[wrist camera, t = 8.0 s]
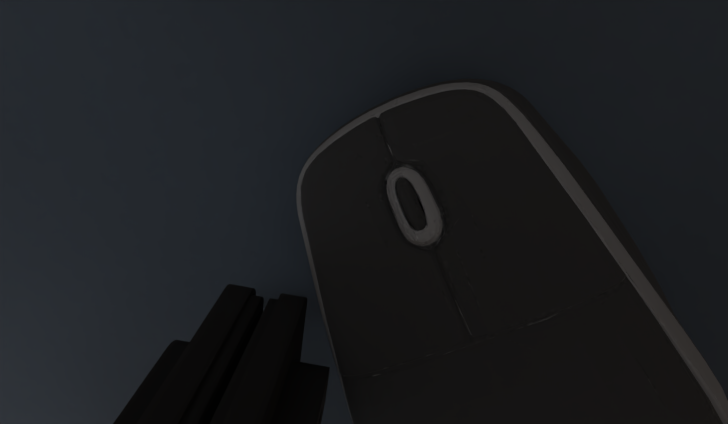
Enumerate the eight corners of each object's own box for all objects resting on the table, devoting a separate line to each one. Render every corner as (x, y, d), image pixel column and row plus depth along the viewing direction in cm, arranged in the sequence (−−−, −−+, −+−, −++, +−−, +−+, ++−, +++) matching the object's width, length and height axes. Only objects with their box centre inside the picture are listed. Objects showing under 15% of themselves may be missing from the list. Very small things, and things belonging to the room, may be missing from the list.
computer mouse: (562, 3, 8) (680, 9, 5) (721, 472, 12) (852, 676, 8) (230, 172, 10) (125, 272, 6) (461, 530, 14) (477, 716, 10)
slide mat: (-523, -219, 9) (-544, -223, 8) (1625, 93, 7) (1656, 96, 7) (-203, 419, 15) (-211, 424, 15) (953, 637, 14) (960, 645, 14)
